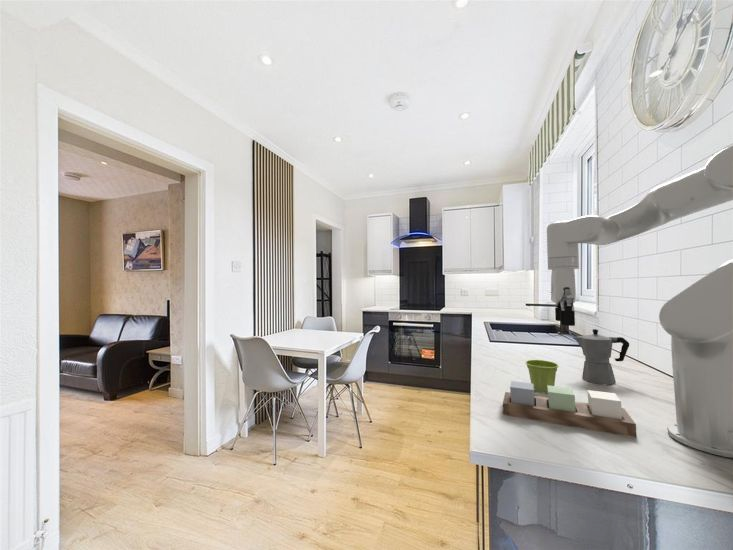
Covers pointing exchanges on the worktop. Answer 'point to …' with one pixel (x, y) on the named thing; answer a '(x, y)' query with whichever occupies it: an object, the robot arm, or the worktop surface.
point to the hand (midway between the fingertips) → (564, 323)
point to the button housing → (570, 416)
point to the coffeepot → (599, 356)
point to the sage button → (561, 398)
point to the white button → (604, 404)
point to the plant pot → (542, 374)
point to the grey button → (522, 393)
